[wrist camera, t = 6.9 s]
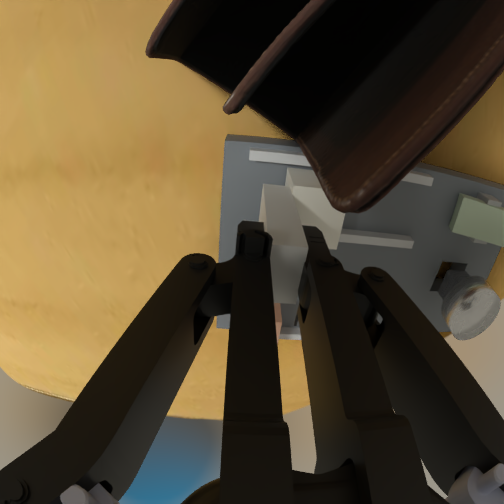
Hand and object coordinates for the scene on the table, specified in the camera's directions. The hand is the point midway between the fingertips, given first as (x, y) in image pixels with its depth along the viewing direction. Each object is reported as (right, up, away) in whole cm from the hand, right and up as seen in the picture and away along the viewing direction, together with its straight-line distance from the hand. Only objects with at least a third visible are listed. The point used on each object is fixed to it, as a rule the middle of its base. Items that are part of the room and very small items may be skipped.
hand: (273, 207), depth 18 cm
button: (+15, -5, +5) cm, 17 cm away
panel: (+8, -2, +6) cm, 11 cm away
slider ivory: (+2, +1, +2) cm, 3 cm away
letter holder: (+4, +14, -3) cm, 15 cm away
